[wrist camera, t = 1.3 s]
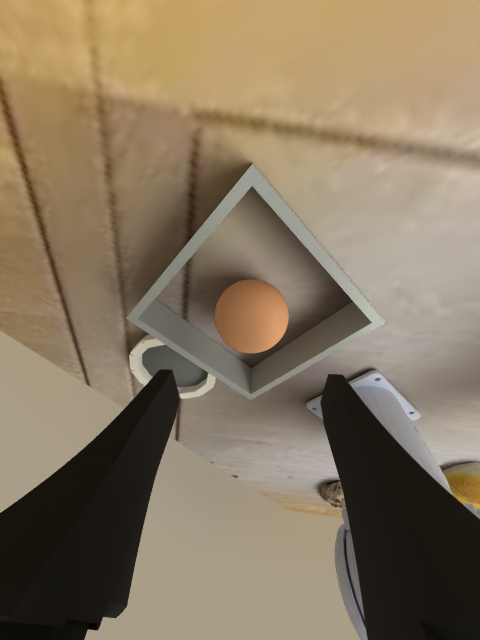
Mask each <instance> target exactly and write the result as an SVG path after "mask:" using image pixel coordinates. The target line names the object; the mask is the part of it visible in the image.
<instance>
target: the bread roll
mask: <svg viewBox="0 0 480 640" xmlns="http://www.w3.org/2000/svg"><path fill="white" fill-rule="evenodd" d="M442 472H443V474H444V475H445V477H446V479H447V481H448V484H449V487H450V490H451V492H452V494H453V495H454V497H455V498H456V499H457V500H458V501H460V502H461V503H462V504H468V503H470V504H473V505H474V506H476V508H477V509H480V462H469V463H464V464H459V465H454V466H451V467H449V468H446V469H444V470H443V471H442Z"/></svg>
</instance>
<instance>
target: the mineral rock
mask: <svg viewBox="0 0 480 640" xmlns="http://www.w3.org/2000/svg"><path fill="white" fill-rule="evenodd" d="M321 498H322V499H323V500H324V501H326V502H329V503H330V504H331V505H332V506H333V507H341V508H343V509H346V505H345V500H344V495H343V490H342V486H341V482H340V481H338V482H335V483H332V484H330V485H323V486H322V488H321Z"/></svg>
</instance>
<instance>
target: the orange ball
mask: <svg viewBox="0 0 480 640" xmlns="http://www.w3.org/2000/svg"><path fill="white" fill-rule="evenodd" d="M288 320H289V313H288V307H287V304H286V301H285V299H284V297H283V296H282V294H281V293H280V292H279V291H278V290H277V289H276V288H275V287H274V286H272V285H271V284H269V283H267V282H264V281H261V280H256V279H247V280H242V281H239V282H236V283H234V284H233V285H231V286H230V287H228V288H227V289H226V290H225V291H224V292H223V293H222V295H221V296H220V298H219V300H218V302H217V304H216V308H215V325H216V328H217V331H218V333H219V335H220V336H221V338H222V339H223V340H224V341H225V343H227V344H228V345H229V346H230V347H232V348H233V349H235V350H238V351H240V352H244V353H259V352H263V351H266V350H268V349H270V348H271V347H273V346H274V345H275V344H277V343H278V342H279V341H280V339H281V338H282V337H283V335H284V333H285V331H286V329H287V325H288Z"/></svg>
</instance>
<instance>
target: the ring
mask: <svg viewBox="0 0 480 640" xmlns="http://www.w3.org/2000/svg"><path fill="white" fill-rule="evenodd" d="M129 358H130V369H132V370H131V372H132V373H133V374H134V375H135V377H136V378H137V379H138V381H139V382H140V383H141V384H143V386H145V385H146V384H147V383H148V382H149V381H150V380H151V378H152V377H153V376H154V375H155V374H156V373H157V372H158V370H160V369H168V370H173V374H174V377H175V381H176V384H177V388H178V392H179V395H180V397H181V398H182V399H184V398H192V397H199V395H200V396H201V395H203V394H204V393H206V392H207V391H209V390H210V389H212V388H213V386H214V384H215V380H216V377H214V376H213V375H211V374H209V373H208V372H206V371H205V370H203V369H202V368H200V367H199V366H197V365H196V364H194V363H193V362H191V361H190V360H188V359H187V358H185V357H184V356H182V355H180V354H179V353H177V352H176V351H174V350H173V349H171V348H170V347H168V346H167V345H165V344H164V343H162V342H161V341H159V340H158V339H156V338H155V337H153V336H151V335H150V334H147V335H145V336H144V337H143V338H141V339H140V341H139V342H138V343H137V345H136V346H135V347H134V348H133V349H132V351H131V353H130V355H129Z"/></svg>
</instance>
